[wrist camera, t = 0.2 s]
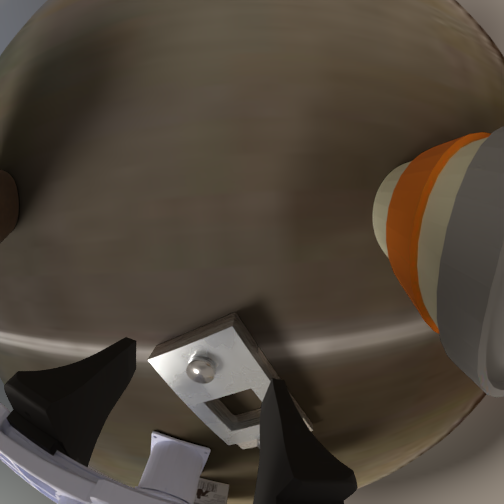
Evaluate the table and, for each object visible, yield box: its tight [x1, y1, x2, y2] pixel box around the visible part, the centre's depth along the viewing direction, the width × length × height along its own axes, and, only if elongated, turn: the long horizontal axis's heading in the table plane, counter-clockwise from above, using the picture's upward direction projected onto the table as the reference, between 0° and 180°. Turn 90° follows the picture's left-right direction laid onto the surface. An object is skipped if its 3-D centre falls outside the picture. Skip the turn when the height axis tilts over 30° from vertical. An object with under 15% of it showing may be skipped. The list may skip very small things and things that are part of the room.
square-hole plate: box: [148, 312, 313, 449], centre depth 24 cm, size 17×9×3 cm, turn 29°
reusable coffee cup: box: [373, 126, 504, 397], centre depth 12 cm, size 13×13×15 cm
